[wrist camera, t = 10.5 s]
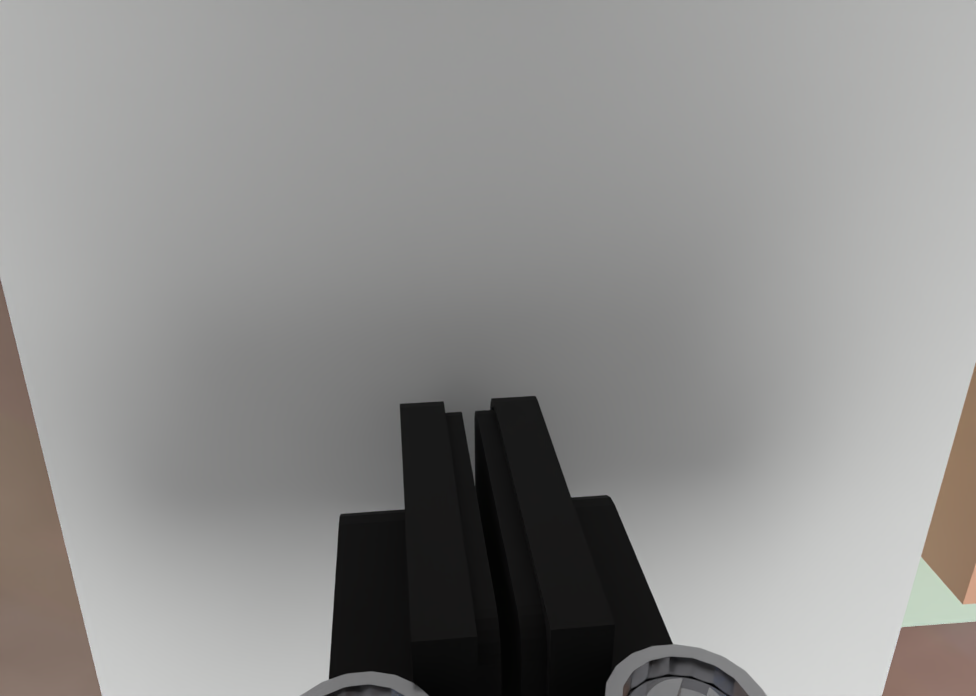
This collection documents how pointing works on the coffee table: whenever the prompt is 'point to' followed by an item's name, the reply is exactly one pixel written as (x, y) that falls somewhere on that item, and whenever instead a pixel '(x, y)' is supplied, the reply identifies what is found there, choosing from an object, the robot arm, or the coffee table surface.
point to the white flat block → (490, 300)
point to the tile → (957, 511)
